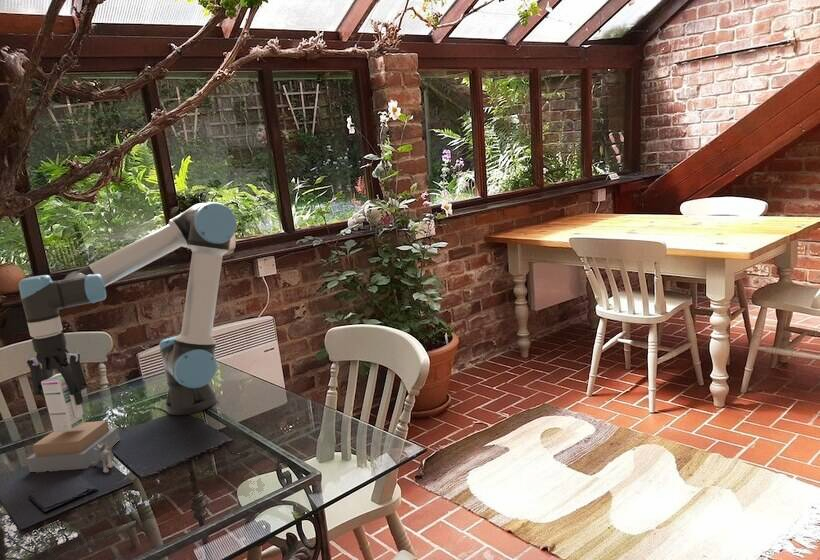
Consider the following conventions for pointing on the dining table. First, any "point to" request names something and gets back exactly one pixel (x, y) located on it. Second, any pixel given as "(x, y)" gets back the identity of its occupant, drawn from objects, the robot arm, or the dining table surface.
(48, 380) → the syrup box
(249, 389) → the dining table surface
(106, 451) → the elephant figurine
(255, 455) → the dining table surface
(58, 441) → the display podium
